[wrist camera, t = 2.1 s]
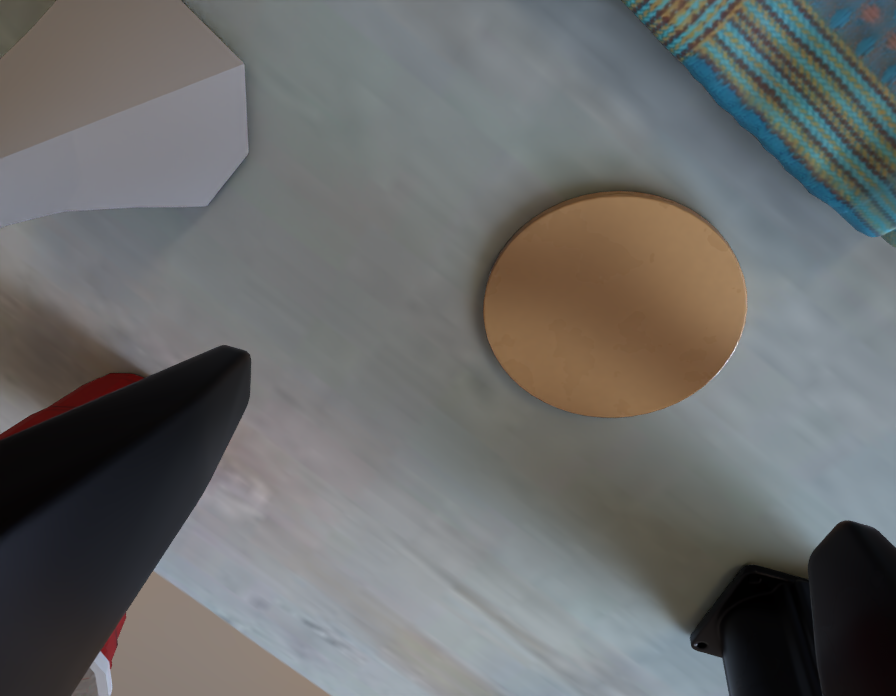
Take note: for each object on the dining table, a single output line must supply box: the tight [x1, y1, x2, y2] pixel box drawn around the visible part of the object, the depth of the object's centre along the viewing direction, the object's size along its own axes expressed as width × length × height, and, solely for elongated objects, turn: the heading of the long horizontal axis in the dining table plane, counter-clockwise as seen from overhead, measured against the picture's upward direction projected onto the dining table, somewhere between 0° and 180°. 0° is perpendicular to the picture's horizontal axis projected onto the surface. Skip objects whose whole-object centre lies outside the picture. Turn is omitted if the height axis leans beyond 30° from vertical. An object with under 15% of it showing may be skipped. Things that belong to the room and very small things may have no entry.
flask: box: [0, 0, 249, 228], centre depth 17 cm, size 7×7×10 cm
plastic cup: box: [0, 373, 144, 696], centre depth 25 cm, size 11×11×12 cm
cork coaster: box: [483, 191, 747, 418], centre depth 22 cm, size 9×9×1 cm
